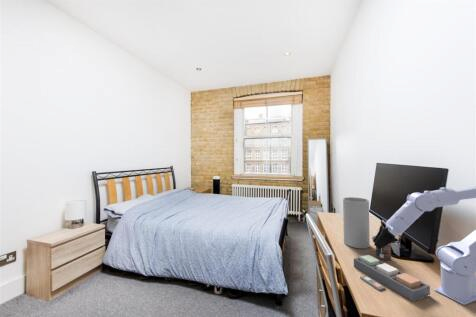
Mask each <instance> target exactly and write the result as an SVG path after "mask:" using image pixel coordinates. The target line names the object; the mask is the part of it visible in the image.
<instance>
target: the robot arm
mask: <svg viewBox="0 0 476 317" xmlns="http://www.w3.org/2000/svg"><path fill="white" fill-rule="evenodd" d="M471 199H476V186H475V185H474V186H470V187H469V186H468V187H466V188H459V189H456V190H455V189H452V188H450V187H449V188H447V187H444V186H443V187H439V189H436V190H424V191H423V192H417V191H416V192H413V193H411V194H409V193H408V195H407V197H406V201H405V203H403V204H402V206H401V207H400V208H399V209H398V210H396V211H395V212H394V213H393V215H392V216H391V217H390V218H389V219H388V220H387V221H385V220H383V219H382V220H381V222H382V223H383V224H384V225H385V227H384V226H382V224H381V225H380V226H379V229H378V232H377V233H376V235H375V237H374V239H373V243H374V244H373V245H374V246H375V248H376V247H377V248H378V249H381V248H383V247H385V246H386V245H388V244H390V243H391V244H392V243H396V242H399V239H398V238H396V236H397V235H398V236H402V235H403V233H404V232H405V231H406V230H407V229H408V228H410V226H412V224H414V222H415V221H416V220H418V219H419V218H420V217H421V216H422V215H423V214H424V213H425V212H432V211H434V210H435V209H436V208H441V207H448V206H454V205H457V204H459V203H460V201H462V200H471ZM435 255H436V257H437V259H438V260H439V261H440V286H439V287H436V288H434V291H436V292H437V293H440V294H442V295H443V296H445V297H447V298H449V299H451V300H453V301H455V302H457V303H459V304H461V305H463V306H466V305H467V304H470V303H473V302H475V301H476V276H475V274H476V229H475V230H473V231H472V232H470V234H468V235H466V236H465V237H464V238H463V239H461V240H460V241H451V242H449V243H447V244H446V245H442V246H439V247H438V248H437V249H436V250H435Z"/></svg>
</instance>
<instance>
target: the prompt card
mask: <svg viewBox="0 0 476 317" xmlns="http://www.w3.org/2000/svg"><path fill="white" fill-rule="evenodd" d="M359 279H361V280H362V281H364V282H365V283H367V284H368V285H370V286H372V287H373V288H374V289H376V290H377V291H383V290H386V287H385V285H383V284H382V283H381V284H380V283H379V282H377V281H376V280H374V279H372V277H369V276H367V275H364V276H363V275H361V276H360V278H359Z"/></svg>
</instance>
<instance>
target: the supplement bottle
mask: <svg viewBox="0 0 476 317" xmlns="http://www.w3.org/2000/svg"><path fill="white" fill-rule="evenodd" d="M375 256H376V257H377V259H378V260H383V261H390V260H391V259H392V243H390V244H388V245H386V246H385V247H383V248H381V249H378V248H377V247H376V246H375Z"/></svg>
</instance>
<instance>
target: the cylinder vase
mask: <svg viewBox="0 0 476 317" xmlns="http://www.w3.org/2000/svg"><path fill="white" fill-rule="evenodd" d="M342 207H343V208H342V210H343V211H342V214H343V218H342V220H343V242H344V244H345V245H346V246H348V247H351V248H354V249H368V248H369V247H370V246H371V245H370V244H371V243H370V242H371V240H370V200H369V199H366V198H361V197H353V196H349V197H343V198H342Z"/></svg>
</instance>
